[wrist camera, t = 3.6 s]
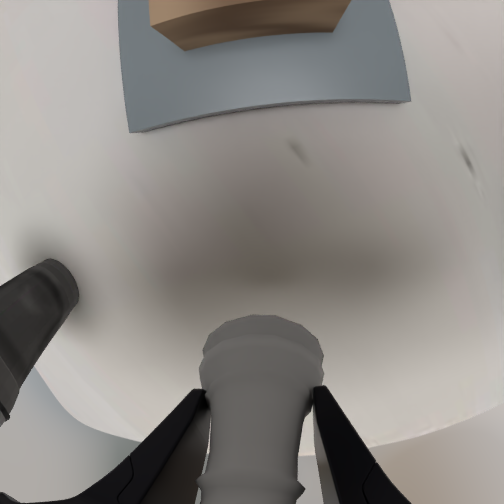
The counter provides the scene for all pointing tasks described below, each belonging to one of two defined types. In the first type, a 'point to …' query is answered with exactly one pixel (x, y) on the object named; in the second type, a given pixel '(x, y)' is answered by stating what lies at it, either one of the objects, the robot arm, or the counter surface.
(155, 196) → the counter surface
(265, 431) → the rook chess piece
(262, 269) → the counter surface
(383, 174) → the counter surface
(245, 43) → the build plate
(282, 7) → the base brick
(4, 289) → the beverage cup
